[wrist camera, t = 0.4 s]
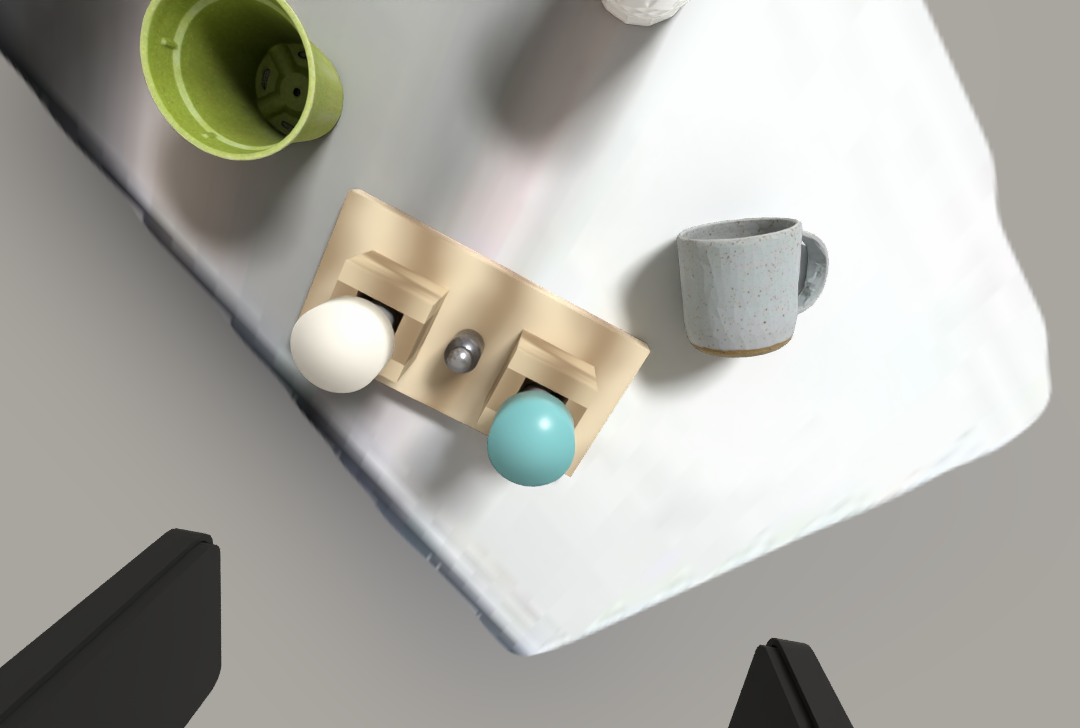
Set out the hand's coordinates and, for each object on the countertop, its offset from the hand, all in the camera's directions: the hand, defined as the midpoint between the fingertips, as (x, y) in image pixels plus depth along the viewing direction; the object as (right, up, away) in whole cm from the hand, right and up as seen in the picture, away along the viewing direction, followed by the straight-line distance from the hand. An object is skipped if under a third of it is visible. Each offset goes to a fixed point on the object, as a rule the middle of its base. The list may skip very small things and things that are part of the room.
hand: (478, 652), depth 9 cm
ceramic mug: (+16, +12, +31) cm, 37 cm away
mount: (-4, +7, +33) cm, 34 cm away
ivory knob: (-10, +8, +27) cm, 30 cm away
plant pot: (-15, +24, +28) cm, 40 cm away
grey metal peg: (-4, +6, +31) cm, 32 cm away
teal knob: (+1, +3, +29) cm, 29 cm away
